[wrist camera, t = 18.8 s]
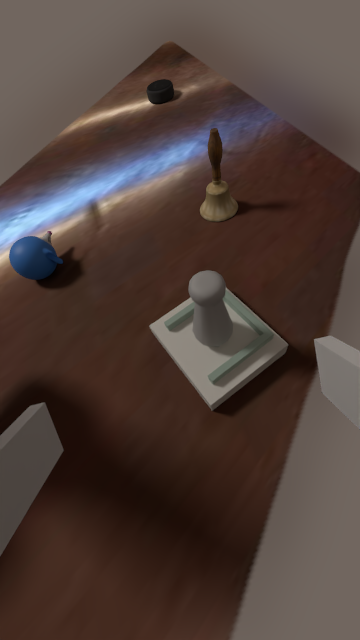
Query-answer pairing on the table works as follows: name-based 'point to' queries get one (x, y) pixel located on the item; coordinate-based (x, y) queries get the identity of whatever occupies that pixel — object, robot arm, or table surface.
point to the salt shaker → (210, 309)
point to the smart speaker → (160, 91)
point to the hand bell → (217, 186)
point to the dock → (219, 349)
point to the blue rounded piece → (34, 257)
